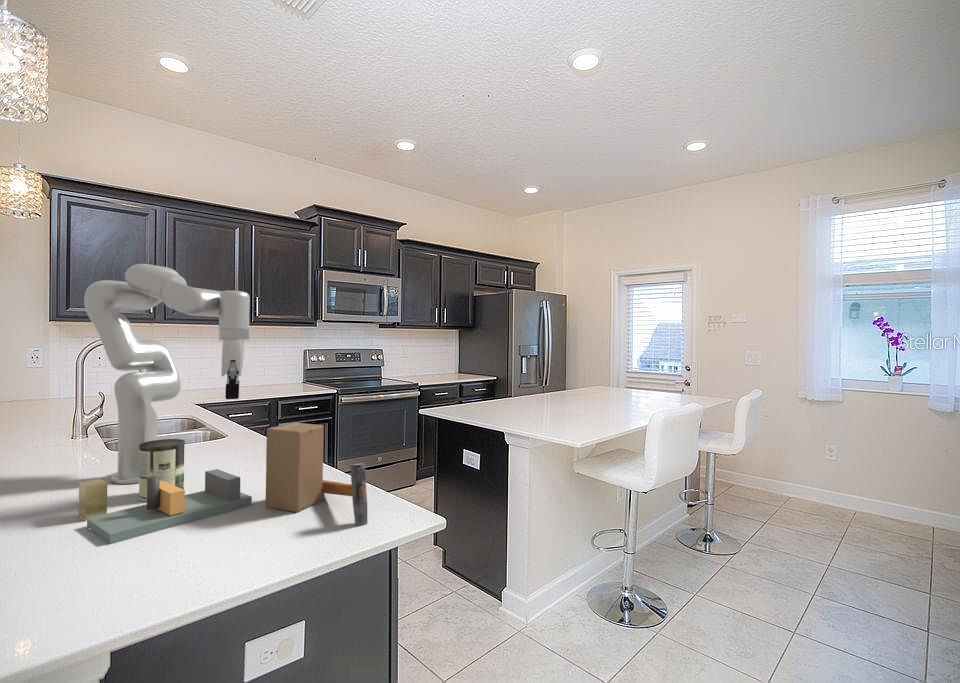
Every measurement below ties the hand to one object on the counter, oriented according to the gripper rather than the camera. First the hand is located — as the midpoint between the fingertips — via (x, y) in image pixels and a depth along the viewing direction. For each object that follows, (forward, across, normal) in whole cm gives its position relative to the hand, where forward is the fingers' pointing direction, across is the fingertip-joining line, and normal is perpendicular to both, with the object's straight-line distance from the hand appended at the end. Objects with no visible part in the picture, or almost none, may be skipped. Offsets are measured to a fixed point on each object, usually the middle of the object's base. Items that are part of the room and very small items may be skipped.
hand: (232, 396), depth 134 cm
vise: (+26, +16, -11) cm, 33 cm away
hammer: (+26, +25, +25) cm, 44 cm away
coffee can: (+26, -2, -16) cm, 31 cm away
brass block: (+26, +9, -28) cm, 40 cm away
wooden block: (+26, +19, +15) cm, 36 cm away
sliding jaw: (+24, +18, -14) cm, 33 cm away
